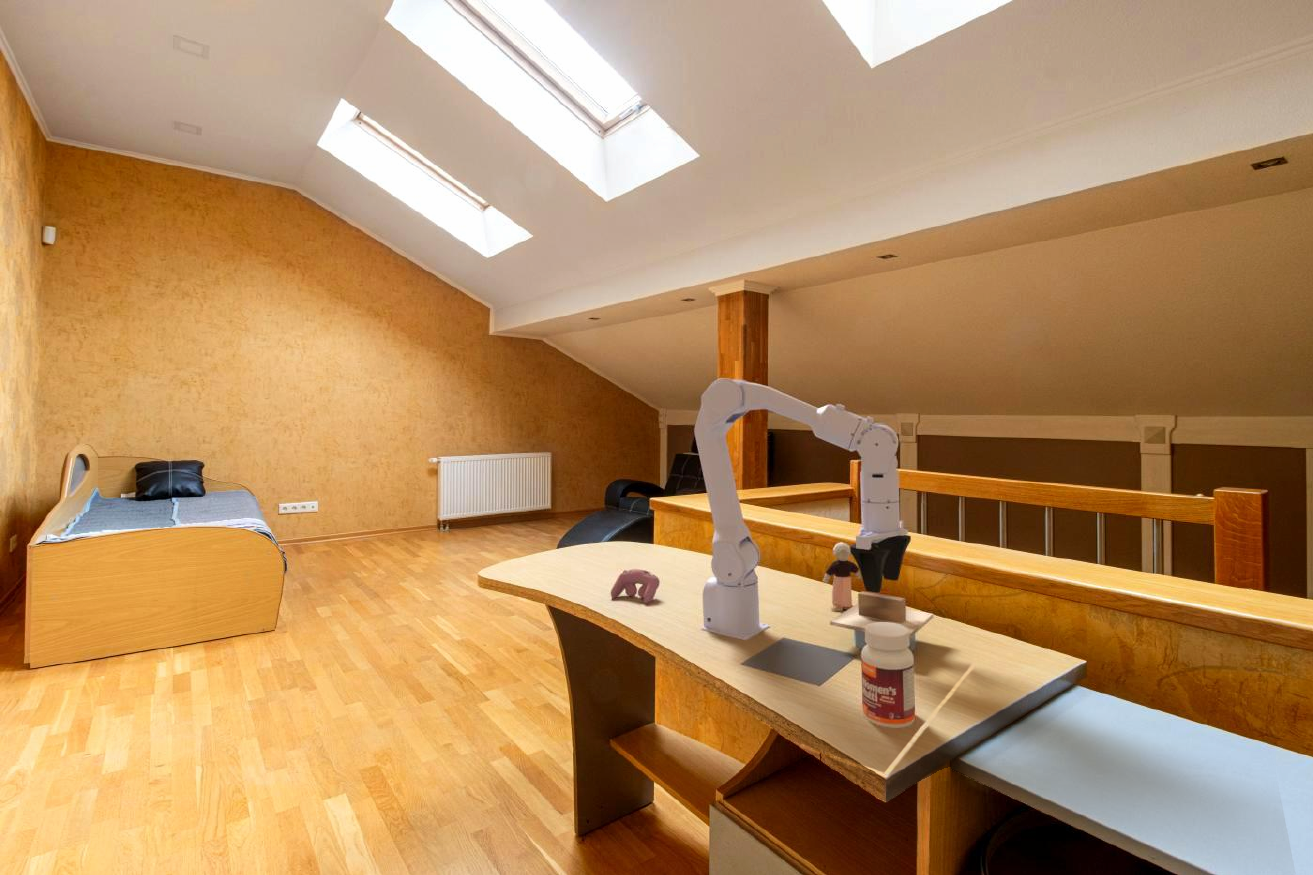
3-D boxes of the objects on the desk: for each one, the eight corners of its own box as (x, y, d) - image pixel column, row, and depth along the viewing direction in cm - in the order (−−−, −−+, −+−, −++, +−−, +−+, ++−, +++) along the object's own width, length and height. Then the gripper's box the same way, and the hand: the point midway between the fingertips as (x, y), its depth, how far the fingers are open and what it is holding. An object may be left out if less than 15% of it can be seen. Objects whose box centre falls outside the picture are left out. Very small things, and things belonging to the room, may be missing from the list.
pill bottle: (854, 721, 77) (851, 631, 77) (873, 701, 82) (871, 616, 81) (905, 736, 73) (903, 641, 73) (922, 715, 78) (920, 625, 77)
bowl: (845, 649, 100) (844, 624, 99) (868, 632, 106) (867, 608, 106) (902, 662, 94) (901, 635, 93) (922, 643, 100) (922, 618, 100)
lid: (830, 624, 99) (829, 599, 99) (861, 604, 108) (860, 581, 108) (906, 640, 92) (906, 613, 91) (933, 617, 101) (932, 592, 100)
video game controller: (658, 607, 130) (664, 573, 132) (646, 603, 126) (653, 568, 129) (619, 601, 135) (626, 569, 137) (607, 597, 132) (614, 564, 134)
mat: (740, 666, 95) (740, 663, 95) (783, 639, 105) (783, 637, 105) (819, 688, 86) (819, 685, 86) (858, 657, 96) (858, 654, 96)
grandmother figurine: (834, 614, 116) (832, 546, 115) (821, 608, 119) (819, 542, 119) (867, 607, 119) (865, 541, 118) (853, 602, 122) (851, 538, 122)
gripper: (887, 509, 91) (890, 601, 91) (921, 495, 102) (923, 578, 102) (841, 506, 95) (844, 593, 96) (878, 493, 106) (880, 572, 107)
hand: (882, 585), depth 100 cm, fingers open, 7 cm apart
